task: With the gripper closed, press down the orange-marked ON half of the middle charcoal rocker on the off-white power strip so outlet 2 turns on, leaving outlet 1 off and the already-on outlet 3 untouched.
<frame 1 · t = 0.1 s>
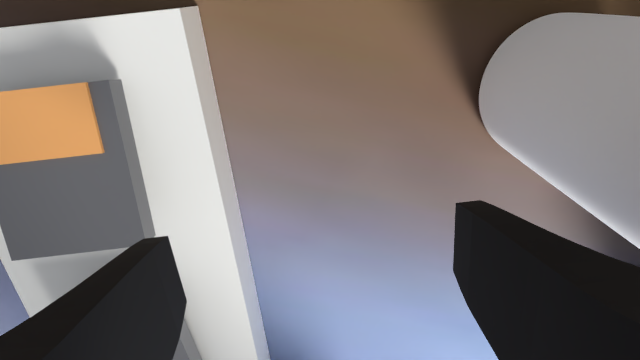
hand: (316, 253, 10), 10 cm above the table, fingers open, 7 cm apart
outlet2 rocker: (135, 355, 19), point 4 cm above the table, hinge at -10.0°
outlet3 rocker: (64, 172, 15), point 4 cm above the table, hinge at 10.0°
can: (541, 85, 20), on the table
power strip: (163, 290, 23), on the table
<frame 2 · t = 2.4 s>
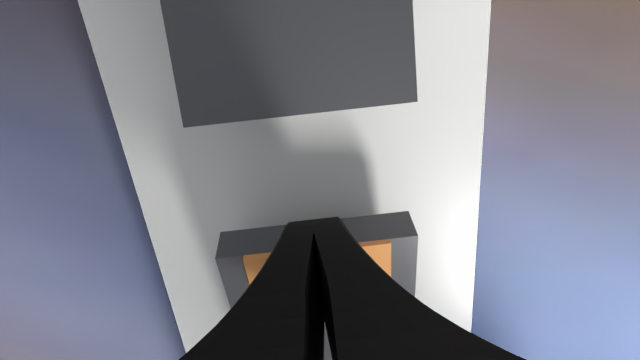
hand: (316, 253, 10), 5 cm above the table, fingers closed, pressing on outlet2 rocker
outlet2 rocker: (325, 313, 12), point 4 cm above the table, hinge at -9.8°, touching gripper
power strip: (318, 233, 16), on the table
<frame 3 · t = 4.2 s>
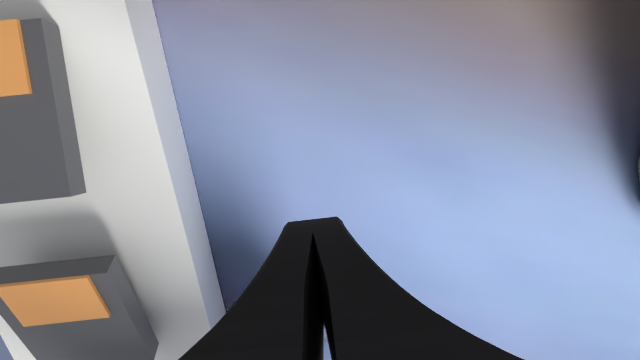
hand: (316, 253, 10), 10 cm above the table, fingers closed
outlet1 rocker: (78, 319, 18), point 4 cm above the table, hinge at -10.0°
power strip: (58, 92, 19), on the table
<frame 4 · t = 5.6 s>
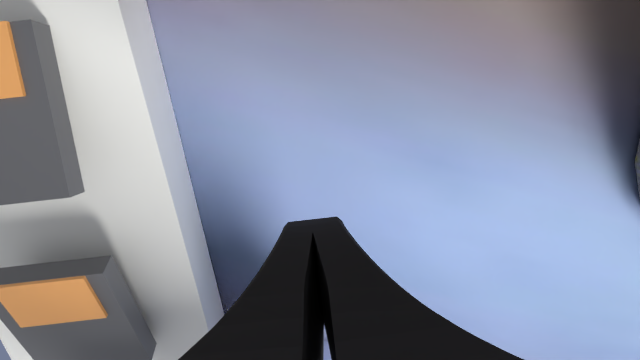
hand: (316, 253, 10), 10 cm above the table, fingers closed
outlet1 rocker: (75, 320, 18), point 4 cm above the table, hinge at -10.0°
power strip: (54, 93, 19), on the table
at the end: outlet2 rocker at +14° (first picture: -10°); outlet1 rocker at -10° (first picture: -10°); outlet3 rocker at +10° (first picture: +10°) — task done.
